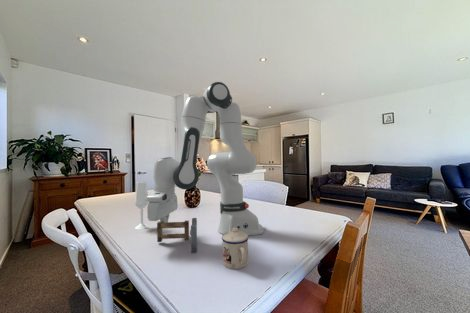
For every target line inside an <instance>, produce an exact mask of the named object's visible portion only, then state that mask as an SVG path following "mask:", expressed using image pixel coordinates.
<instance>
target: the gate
mask: <svg viewBox="0 0 470 313" xmlns="http://www.w3.org/2000/svg"><path fill="white" fill-rule="evenodd" d="M156 222H157V223H156V229H157V230H156V233H157V234H156V235H157V237H156V238H157V243H162V241H163V240H168V239H169V240H170V239H184V241H185V242H186V241H189V240H190V227H189V226H190V220H184V221H172V222H171V221H170V222H169V221H168V222H165V223H162V221H156ZM181 228H182V229H183V228H184V233H167V234H166V233H165V234H164V233H163V229H181Z"/></svg>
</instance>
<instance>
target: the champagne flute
mask: <svg viewBox="0 0 470 313" xmlns="http://www.w3.org/2000/svg"><path fill="white" fill-rule="evenodd" d="M148 195H149V193H148V184H147V181H136V186H135V195H134V196H135V197H134V205H135V206H136V207H137V208H138V209H140V223H139V224H138V225H137V226H135V227H134V229H135V230H144V229H146V228H149V225H148V224H146V223H144V209H145V208H146V207H147V206H148V203H149V202H148V201H147V196H148Z"/></svg>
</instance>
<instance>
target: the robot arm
mask: <svg viewBox="0 0 470 313" xmlns="http://www.w3.org/2000/svg"><path fill="white" fill-rule="evenodd" d="M203 92H204V93H203V94H202V95H201V96H198V95H191V96H188V97H187V99H186V101H185V103H184V106H183V108H182V113H181V117H180V133H181V137H182V141H183V144H182V152H181V158H180V161H178V160H176V159H175V158H173V157H171V156H168V157H162V158H158V159H157V160H155V162H154V165H153V180H154V182H153V183H154V185H153V190H152V191H151V193H149V194H148V196H147V201H148V204H147V206H146V207H147V208H146V210H147V212H146V213H147V214H146V215H147V220H148V221H149V222H158V221H159V220H160V221H162V223H165V222H169V218H170V214H172V213H174V212H175V211H176V210H178V208H179V205H178V203H179V202H178V196H177V194H176V192H175V191H176V188H175V187H177V188H178V189H180V190H191V189H192V188H194V187H195V186H196V185H197V184H198V183H199V177H200V176H199V175H200V174H199V170H198V167H197V158H198V151H199V145H200V141H201V138H202V136H203V133H204V130H205V124H206V118H207V114H213V113H216V112H217V113H218V116H219V139H220V141H221V142H222V143H223V144H224V145H226V146H227V147H229V149H230V151H228V152H227V151H226V152H225V151H224V152H216V153H213V154H212V153H211V155H209V157H208V158H207V161H206V162H207V164H206V165H207V168H208V170H209V171H210V172H211V173H212V174H213V175H214V176H215V177H216V179H217V181H218V185H219V189H220V190H219V191H220V201H219V202H220V203H219V212H220V218H219V225H218V230H217V231H218V233H219V234H221V235H224V234H225V233H227V232H230V231H232V228H238V230H239V231H241V232H244V233H246V234H247V235H248V237H249V236H256V235H262V234H264V232H265V229H264V226H263V225H262V224H260V223H259V219H258V216H257V215H256V214H255V213H253V212H252V211H251V210H249V207H250V206H249V203H247V202H246V201H245V200H244V188H243V185H242V184H241V183H240V182H238V181H237V180H235V178H234V177H233V175H247V174H251V173H254V171H255V170H256V168H257V166H258V163H257V161H258V160H257V158H256V156H255V154H253V152H251V151H250V150H249V149H248V148H247V146H246V145H245V142H244V139H243V126H242V124H243V122H242V114H241V108H240V105H239V104H238V103H236V102H233V97H232V95H231V93H230V89H229V88H228V86H227V85H226V84H225V83H223V82H222V81H215V82H213V83H210V85H208V87H207V88H206V89H205V91H203ZM160 221H159V222H160Z"/></svg>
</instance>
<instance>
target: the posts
mask: <svg viewBox="0 0 470 313" xmlns="http://www.w3.org/2000/svg"><path fill="white" fill-rule="evenodd" d="M189 236H190V253H191V254H196V253H197V251H198V219H197V217H192V218H191V225H190V229H189Z"/></svg>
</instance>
